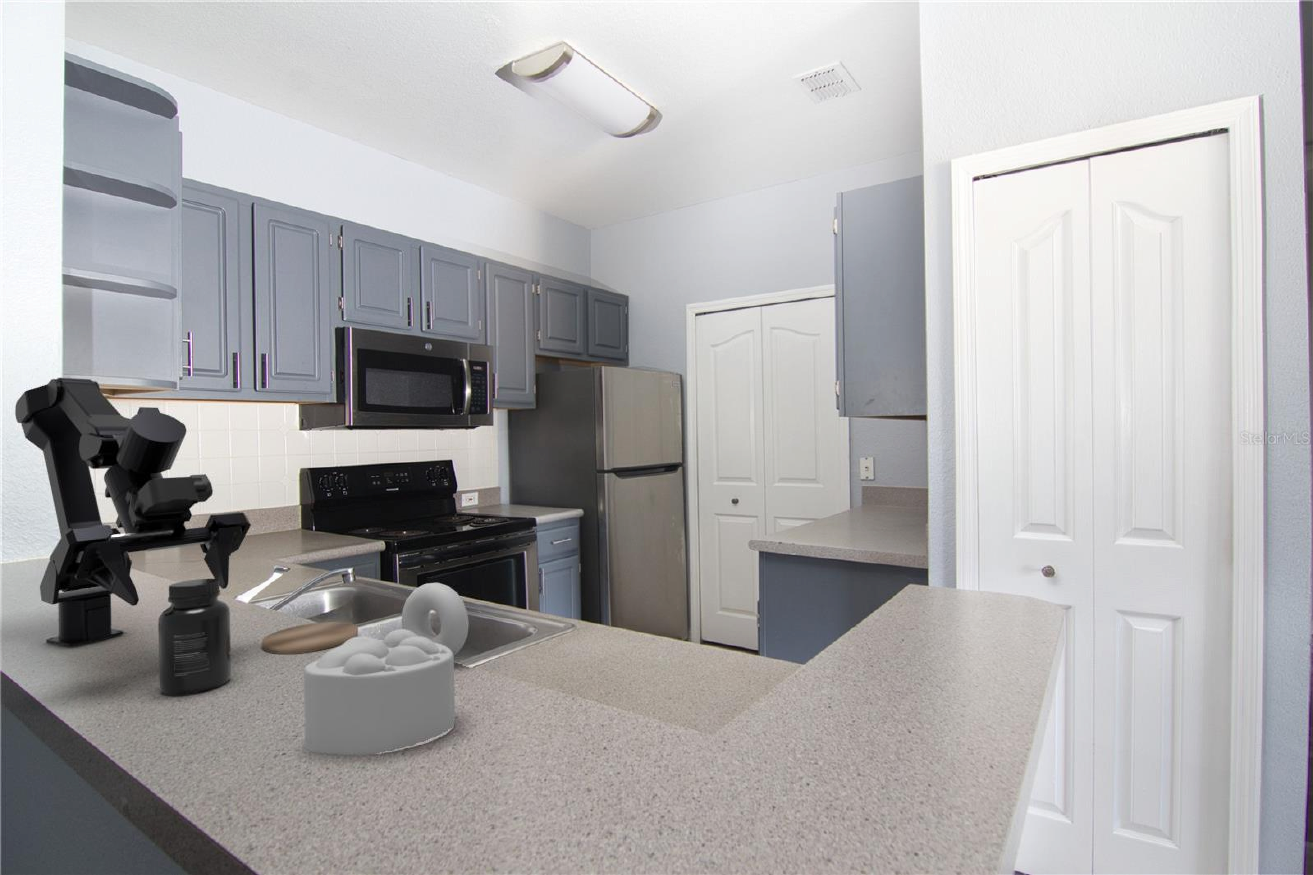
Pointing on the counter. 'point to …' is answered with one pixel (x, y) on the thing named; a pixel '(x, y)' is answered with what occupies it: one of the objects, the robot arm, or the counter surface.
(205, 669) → the supplement bottle
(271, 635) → the walnut trivet
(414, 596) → the donut
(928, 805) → the counter surface
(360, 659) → the lumpy-topped squat cylinder
